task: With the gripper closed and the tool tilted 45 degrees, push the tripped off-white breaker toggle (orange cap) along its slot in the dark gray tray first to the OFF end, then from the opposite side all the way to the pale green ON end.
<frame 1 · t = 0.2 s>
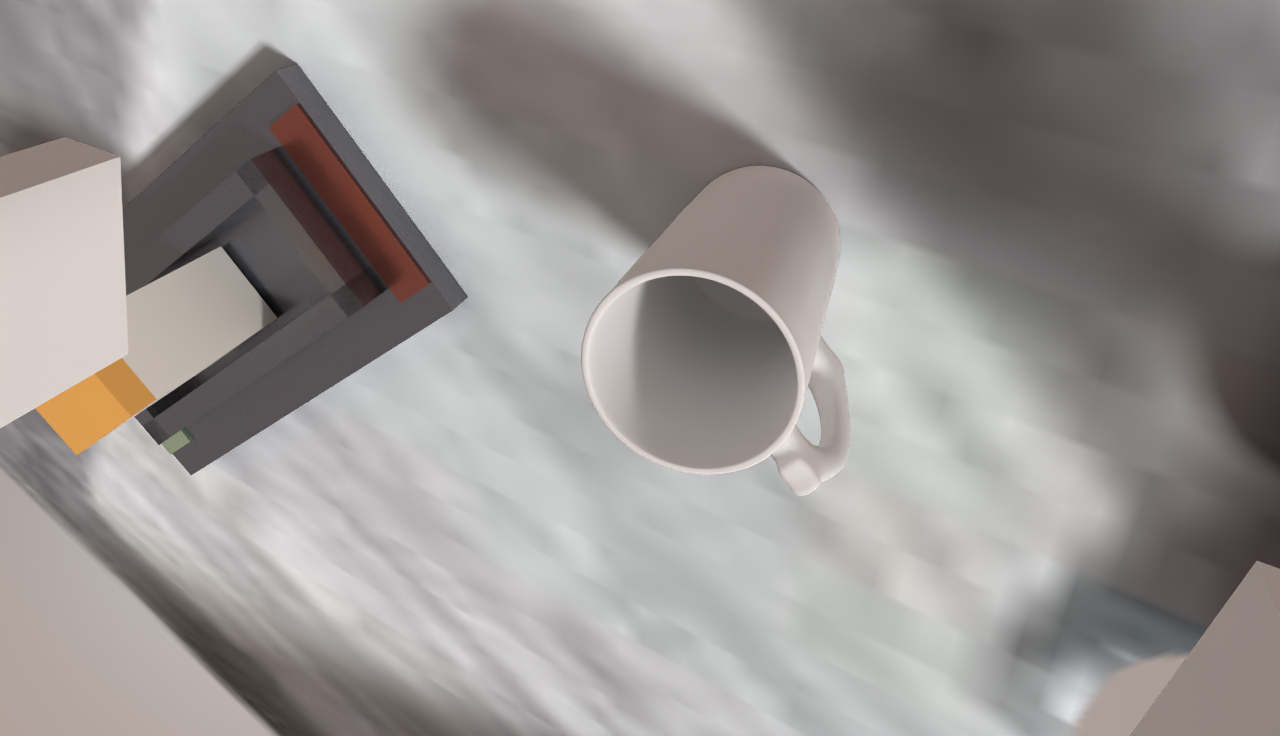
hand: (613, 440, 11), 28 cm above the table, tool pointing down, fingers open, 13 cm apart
toggle: (153, 344, 42), point 6 cm above the table, slide at 0.0 cm
dark gray tray: (247, 287, 48), on the table
mug: (787, 271, 40), on the table
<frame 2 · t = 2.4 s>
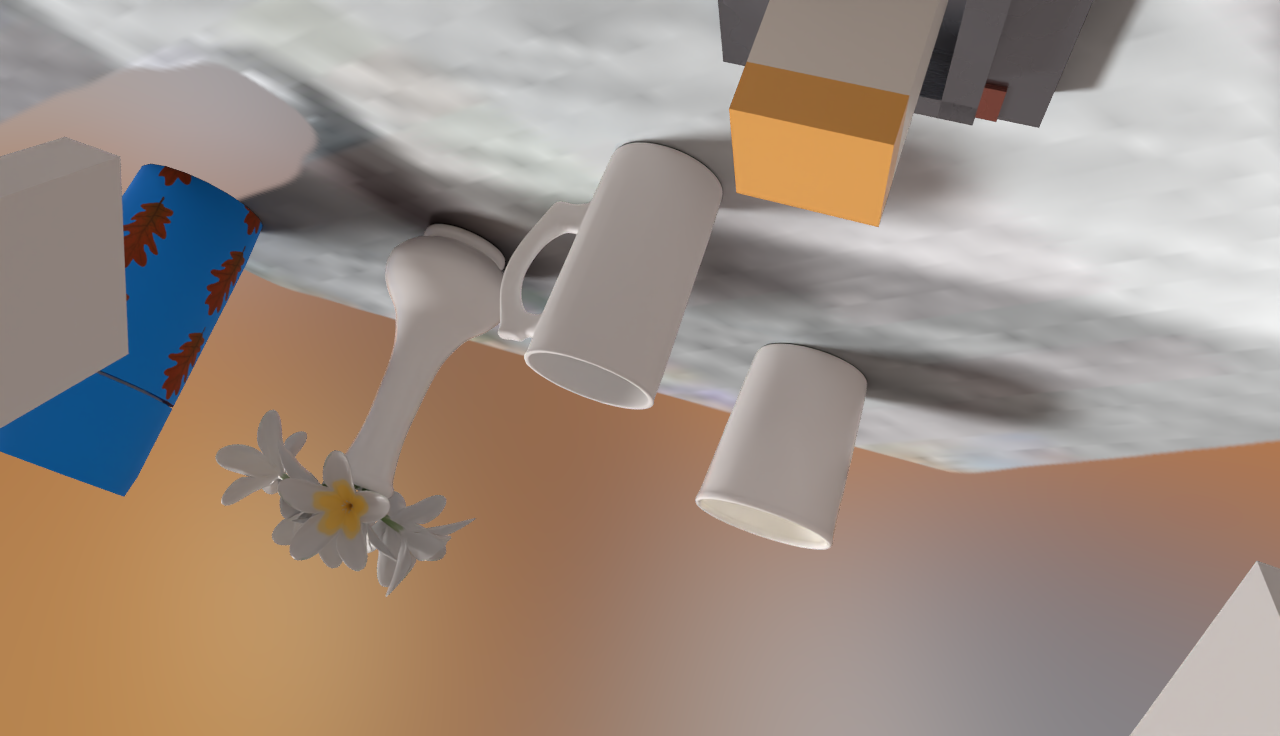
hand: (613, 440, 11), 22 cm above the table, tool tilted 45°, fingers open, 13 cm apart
leaf-print blue block: (204, 197, 84), on the table
flower vase: (464, 244, 73), on the table
toggle: (857, 23, 27), point 6 cm above the table, slide at 0.0 cm
candle holder: (812, 365, 72), on the table
mug: (640, 167, 53), on the table
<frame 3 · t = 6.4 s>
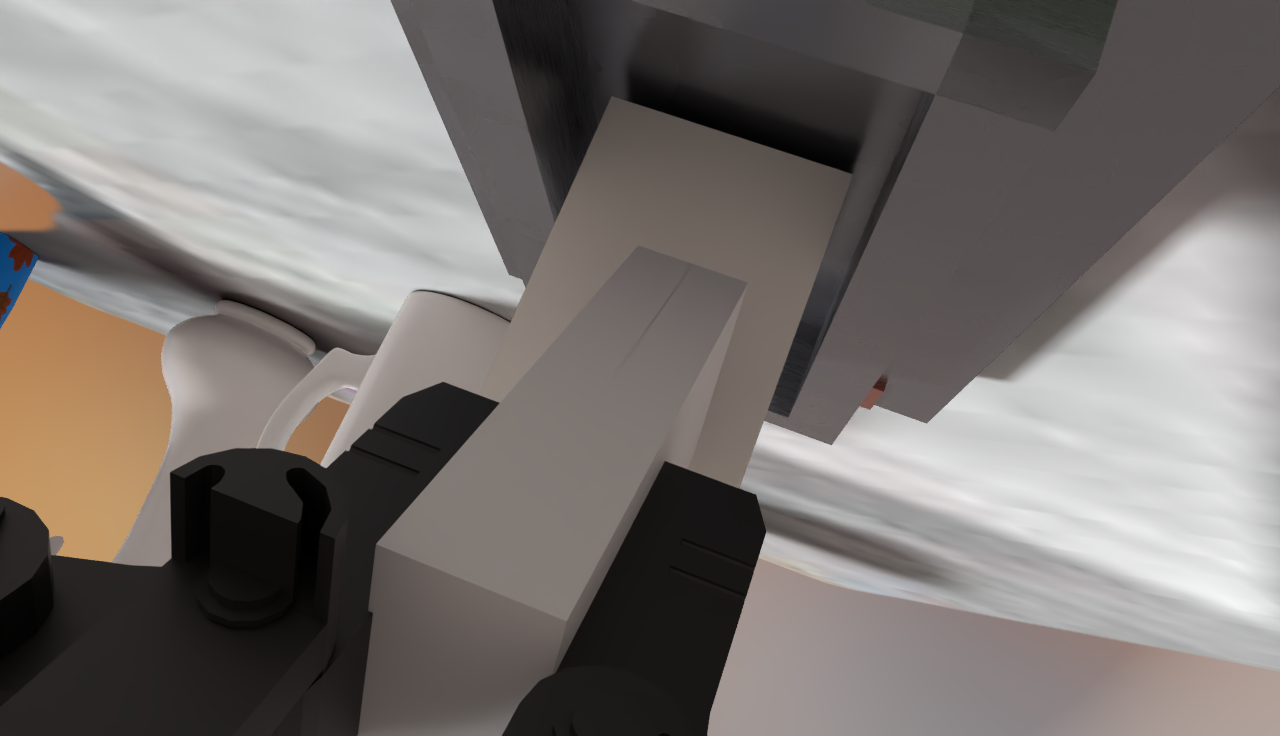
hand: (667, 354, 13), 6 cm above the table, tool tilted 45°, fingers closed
flower vase: (267, 320, 61), on the table
toggle: (626, 437, 16), point 6 cm above the table, slide at -0.3 cm, touching gripper
dark gray tray: (759, 99, 18), on the table
mug: (446, 309, 41), on the table
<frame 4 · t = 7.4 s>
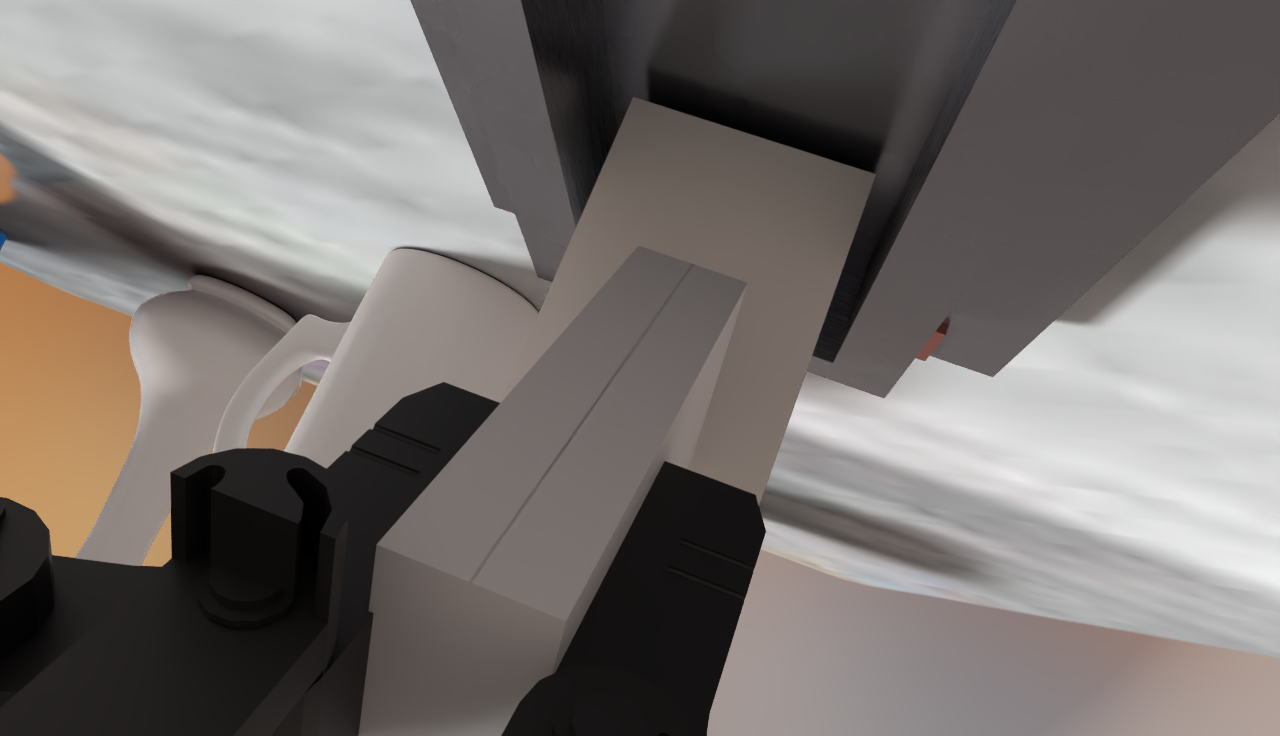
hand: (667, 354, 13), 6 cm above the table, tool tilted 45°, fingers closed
flower vase: (244, 297, 56), on the table
toggle: (648, 438, 16), point 6 cm above the table, slide at -4.7 cm, touching gripper
mug: (430, 272, 37), on the table
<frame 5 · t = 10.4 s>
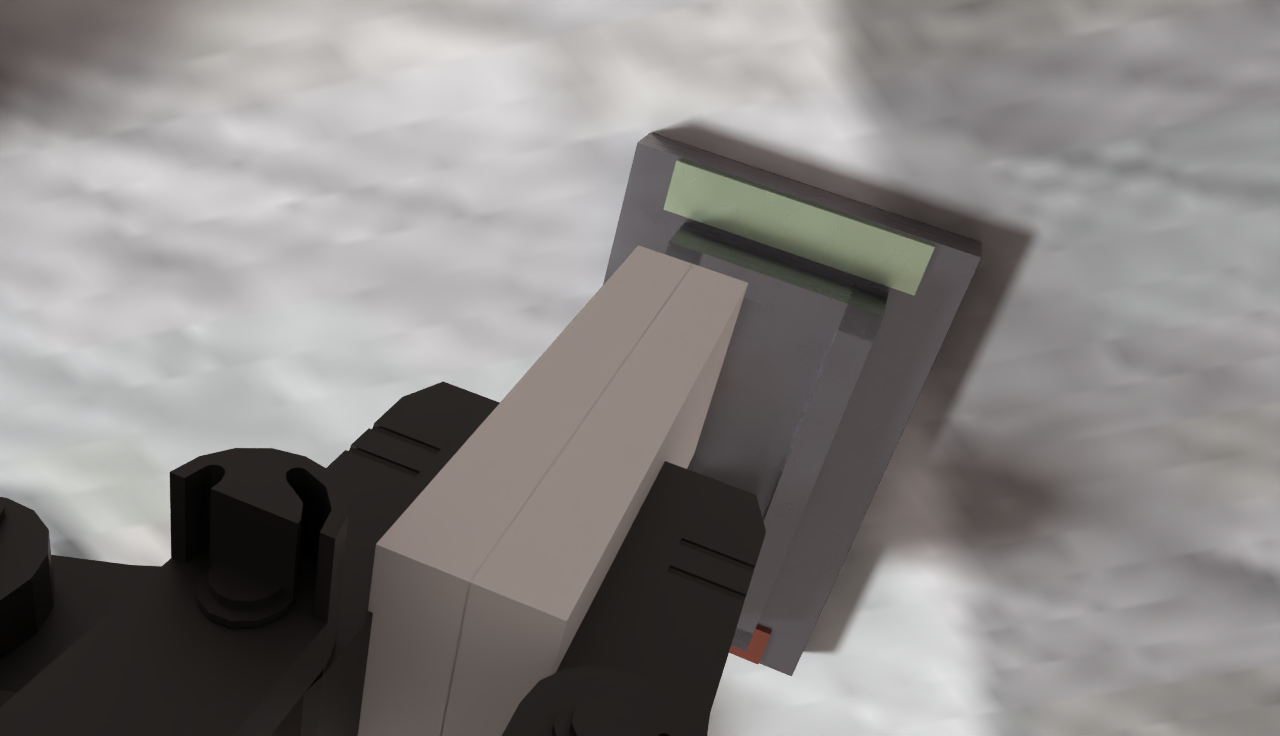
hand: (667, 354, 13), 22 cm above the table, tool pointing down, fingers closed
dark gray tray: (731, 420, 39), on the table
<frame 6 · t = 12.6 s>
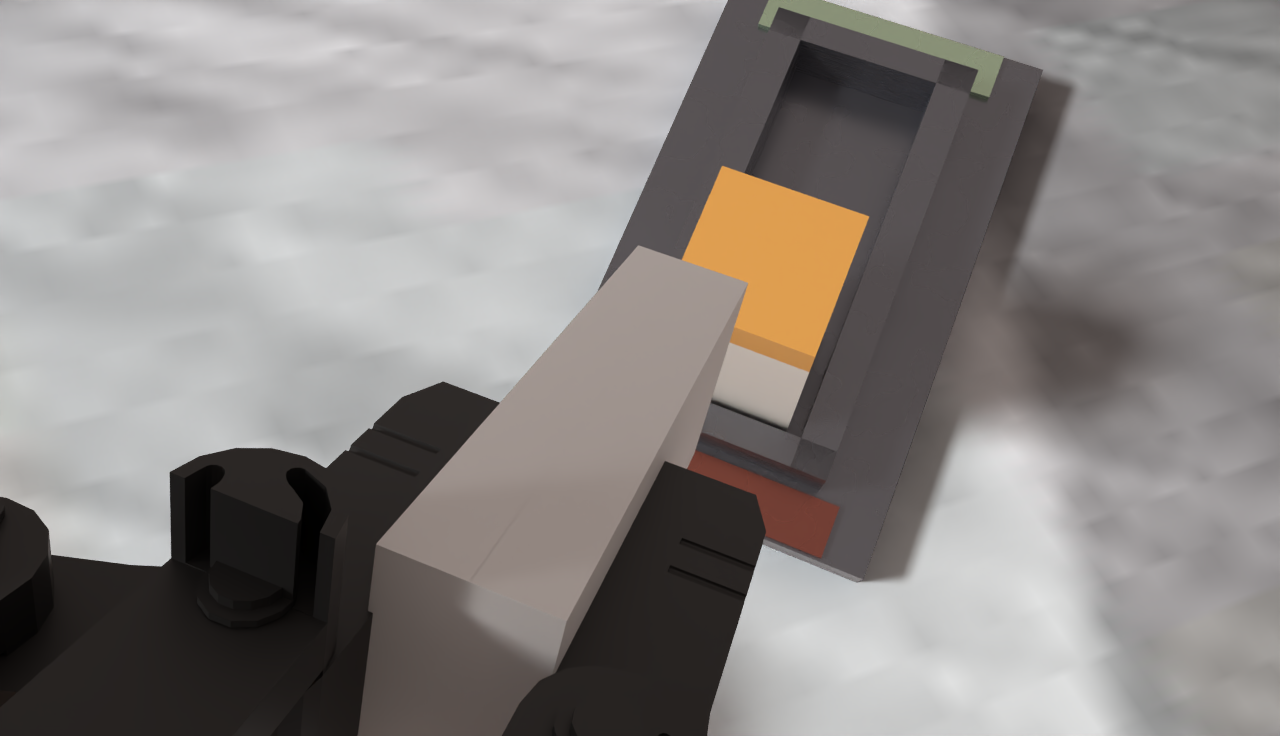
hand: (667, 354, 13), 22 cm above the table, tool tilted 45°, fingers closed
toggle: (757, 317, 30), point 6 cm above the table, slide at -4.5 cm
dark gray tray: (792, 265, 37), on the table
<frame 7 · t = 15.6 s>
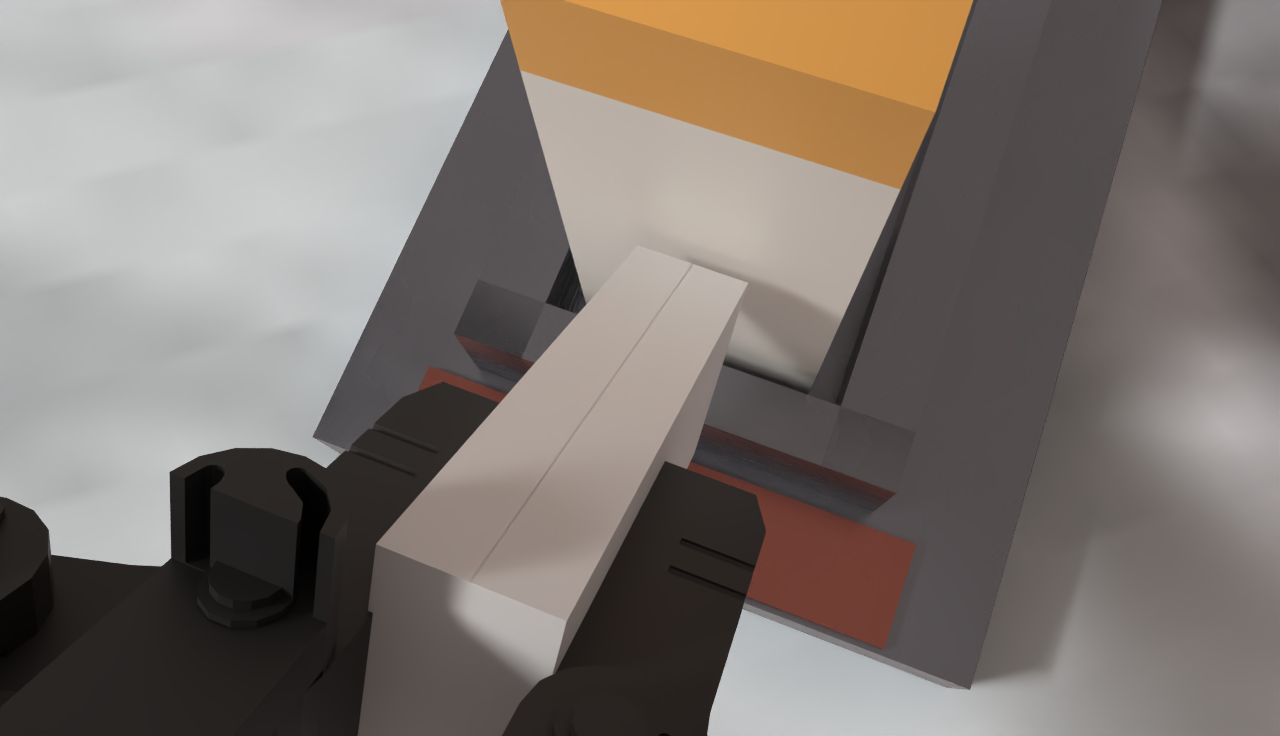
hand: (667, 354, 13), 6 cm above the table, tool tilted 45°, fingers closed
toggle: (750, 130, 13), point 7 cm above the table, slide at -4.4 cm, touching gripper
dark gray tray: (800, 113, 21), on the table
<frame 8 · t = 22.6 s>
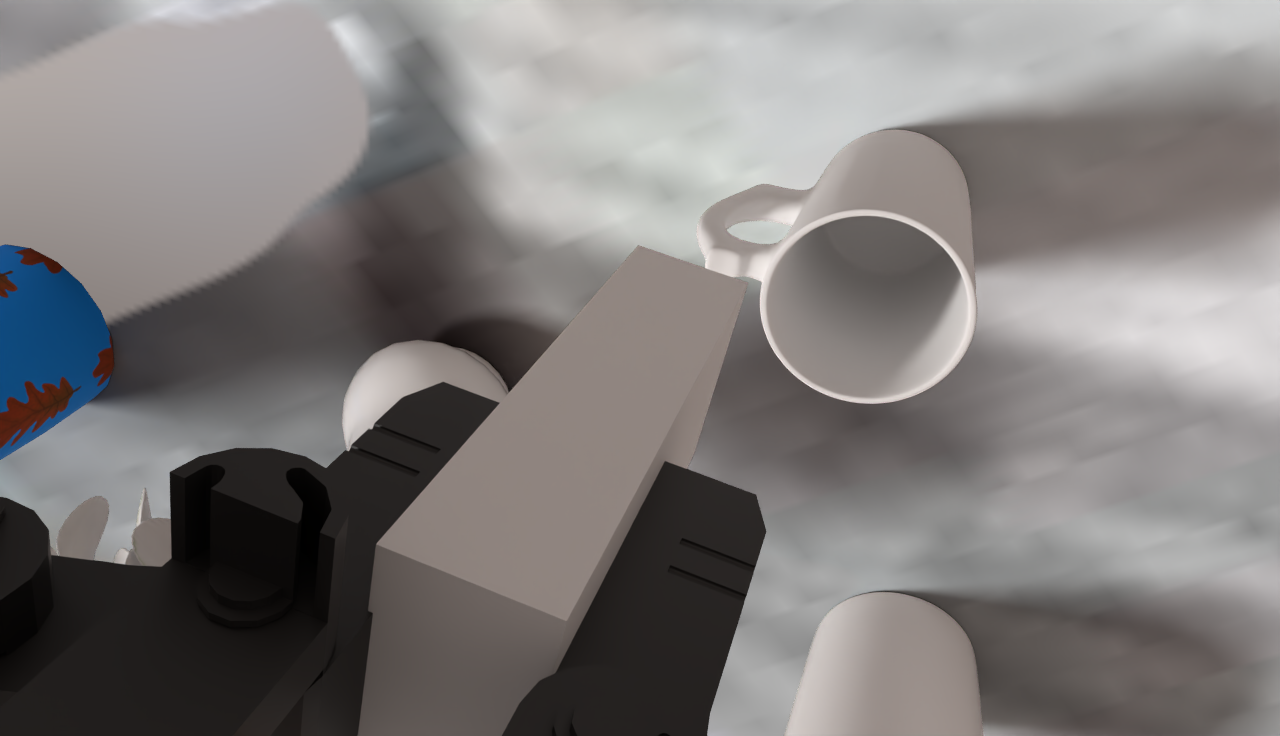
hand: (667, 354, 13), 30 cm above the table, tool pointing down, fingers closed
leaf-print blue block: (43, 325, 60), on the table
flower vase: (452, 400, 54), on the table
candle holder: (893, 650, 52), on the table
mug: (853, 192, 42), on the table
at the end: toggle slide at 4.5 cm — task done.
